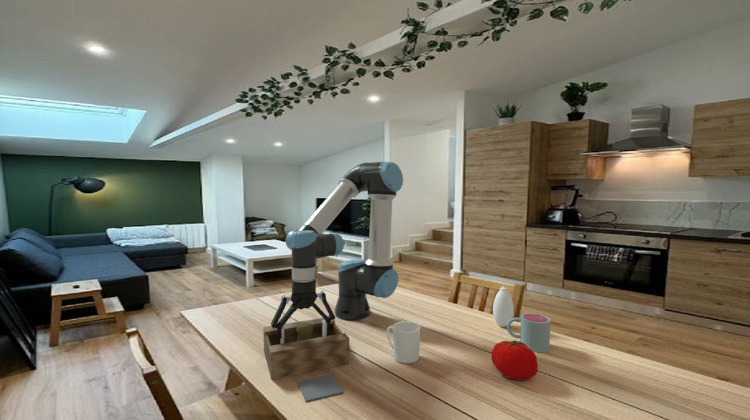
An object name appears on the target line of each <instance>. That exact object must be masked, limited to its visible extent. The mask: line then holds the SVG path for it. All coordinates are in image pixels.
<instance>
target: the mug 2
mask: <svg viewBox="0 0 750 420" xmlns="http://www.w3.org/2000/svg"><path fill="white" fill-rule="evenodd" d="M513 322H520V334H517V333H514V332H513V331H512V330H511V325H512V323H513ZM506 330H507V332H508V334H509V335H510V336H511V337H513V338H515V339H520V340H519V341H521V342H522V343H524V344H527V345H526V346H527V347H528V348H530V349H531V350H532V351H537V352H536V353H545V352H544V351H547V350H548V351H550V344H551V343H550V341H551V340H550V335H551V318H550V317H548V316H546V315H544V314H540V313H536V312H524V313H523V314H521V315H520V317H513V318H512V319H510V320H509V321H508V323H507V326H506ZM548 351H547V352H548Z"/></svg>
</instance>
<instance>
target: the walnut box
mask: <svg viewBox="0 0 750 420" xmlns="http://www.w3.org/2000/svg"><path fill="white" fill-rule="evenodd" d="M322 320H325V319H324V318H323V317H320V318H314V319H307V320H300V321H293V322H286V323H285V324H284V326H283V327H284V344H281V339H278V337H277V328H272V326H271V325H268V326H263V327H262V329H263V330H262V331H263V333H262V334H263V351H264V357H265V360H266V365H267V368H268V373H269V376H270V380H272V381H273V380H276V379H282V378H286V377H291V376H295V375H300V374H305V373H310V372H314V371H320V370H325V369H328V368H329V369H330V368H334V367H339V366H343V365H347V364H348V365H349V364H350V337H349V336H348V335H347V333H346V332H343V331H341V329H340V328H339V326H338V325H336V319H334V320H331V322H330V330H329V331H327V336H325V337H322ZM302 322H309V323H311V324H312V326H313V331H312V333H311V336H312V339H308V340H302V341H298V333H297V330H296V328H297V326H298V324H300V323H302Z"/></svg>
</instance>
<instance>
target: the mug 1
mask: <svg viewBox="0 0 750 420" xmlns="http://www.w3.org/2000/svg"><path fill="white" fill-rule="evenodd" d="M391 329H392V339H391V335H390V334H391V333H390V330H391ZM421 329H422V327H421V325H420V324H419V323H416V322H413V321H409V320H407V321H406V320H405V321H403V320H402V321H399V322H395V323H394V324H393V325H389V326H388V327H387V329H386V336H387V340H388V343H389V346H390V347H391V349H392V350H393V358H394V361H396V362H397V363H399V362H400V363H399V364H402V363H403V365H411V364H412V363H413V364H415V363H417V362H418V361H419V359H420V348H421V346H420V344H421Z"/></svg>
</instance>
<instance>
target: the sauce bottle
mask: <svg viewBox="0 0 750 420" xmlns="http://www.w3.org/2000/svg"><path fill="white" fill-rule="evenodd" d="M505 282H506V281H503V286H501V287H500V289H499V290H498V292H497V293H496V295H495V298H494V299H493V305H492V314H493V315H492V316H493V320H494V321H495V322H496V324H498V326H500V327H501V326H502V328H505V327H506V328H507V323H508V321H509V320H510V319H512V318H514V317H515V316H514V314H515V304H514V301H513V298H512V295H511V292H509V291H508V287H506V285H505Z"/></svg>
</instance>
